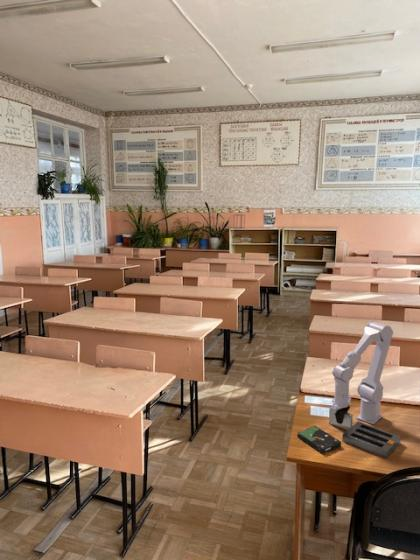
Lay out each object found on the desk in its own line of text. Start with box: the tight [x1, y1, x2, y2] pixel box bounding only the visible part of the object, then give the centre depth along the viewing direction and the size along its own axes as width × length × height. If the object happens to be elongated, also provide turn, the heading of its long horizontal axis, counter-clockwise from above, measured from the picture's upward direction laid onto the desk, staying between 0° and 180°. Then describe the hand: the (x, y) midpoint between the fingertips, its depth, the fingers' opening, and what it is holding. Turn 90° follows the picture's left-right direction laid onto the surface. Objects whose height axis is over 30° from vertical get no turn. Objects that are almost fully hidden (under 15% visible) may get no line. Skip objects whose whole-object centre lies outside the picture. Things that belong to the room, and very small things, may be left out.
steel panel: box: [328, 407, 354, 431], centre depth 185 cm, size 2×10×7 cm, turn 46°
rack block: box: [341, 421, 402, 459], centre depth 173 cm, size 14×18×3 cm
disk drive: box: [296, 425, 342, 455], centre depth 174 cm, size 10×3×15 cm
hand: (340, 422), depth 185 cm, fingers closed on steel panel, 2 cm apart
